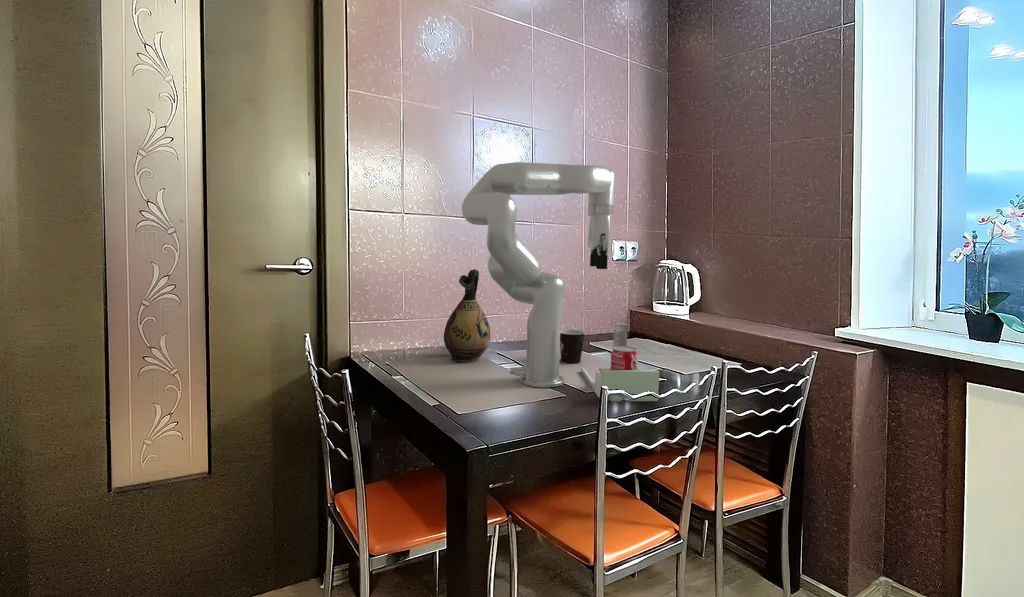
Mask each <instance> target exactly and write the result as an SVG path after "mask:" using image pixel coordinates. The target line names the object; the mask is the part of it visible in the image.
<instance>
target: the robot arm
mask: <svg viewBox="0 0 1024 597" xmlns="http://www.w3.org/2000/svg"><path fill="white" fill-rule="evenodd" d="M615 176H616V175H615V172H614V171H613V170H610V169H608V167H606V166H604V165H587V164H581V165H580V164H567V163H566V164H564V163H546V162H545V163H542V162H523V161H522V162H521V161H520V162H519V161H516V162H507V163H498V164H495V165H493V166H492V167H490V169H489V170H487V171H486V172H485V173H484V174H483V175H482V177H481V178H480V179H479V180H478V181H477V182H476V184H475V185H474V186H473V187H472V188H471V189H470V190H469V192H468V193H467V194H466V195H465V198H463V201H462V203H461V204H462V205H461V213H462V217H463V218H464V219H465V221H466V222H468V223H469V224H471V225H476V226H487V230H486V231H487V233H486V247H487V250H488V252H489V254H490V255H489V257H488V261H487V269H488V272H489V274H490V277H491V278H492V279H493V280H494V281H495V283H496V284H497V285H498V286H499V287H501V289H503V291H504V292H505V293H506V294H508V295H509V296H510V297H511V298H512V299H513V300H514V301H516V302H518V303H522V304H528V305H532V308H531V310H530V313H528V316H527V322H526V323H527V324H526V356H525V357H526V363H525V364H524V366H520V367H509V368H510V370H509V372H510V373H509V374H510V375H514V376H518V377H520V382H521V383H522V384H524V385H526V386H529V387H533V388H544V389H545V388H556V387H560V386H562V385H563V384H564V383H565V378H564V377H563V376H562V375H560V357H561V352H560V330H561V323H562V322H561V321H562V311H563V304H564V301H565V295H566V286H565V283H564V281H563V279H562V278H561V277H559V276H558V275H556V274H554V273H550V272H542V267H541V266H542V265H541V264H540V261H539V259H538V258H537V257H536V255H535V254H534V253H533V252H532V251H531V250H530V249H529V248H528V247H527V246H526V245H525V243H524V242H523V241H522V240H521V239H520V237H519V236H518V235H517V232H516V218H517V211H518V210H517V205H516V202H515V200H514V198H513V197H512V196H538V195H539V196H557V195H558V196H560V195H568V194H569V195H570V194H579V195H581V194H582V195H583V194H588V203H587V204H588V205H587V207H588V208H587V216H588V217H589V218H590V219H589V224H588V237H587V247H588V248H589V249H590V255H589V256H590V257H589V266H590V267H596V269H597V270H607V269H608V260H609V258H608V257H609V254H608V253H609V252H608V248H609V247H610V239H611V238H610V234H611V233H610V232H611V231H610V230H611V229H610V228H611V218H610V217H614V200H615V198H614V196H615Z"/></svg>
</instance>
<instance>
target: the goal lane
mask: <svg viewBox="0 0 1024 597" xmlns="http://www.w3.org/2000/svg"><path fill="white" fill-rule="evenodd" d="M580 372H581V373H582V375H583V377H584V378H585V379H586V381H587V380H588V381H587V383H588V384H589V383H590V384H589V386H590V387H591V386H592V387H591V388H592V390H593V391H594V393H595V394H596V396H597V398H599V395H600V387H601V386H607V387H608V388H609V389H612V390H615V389H618V390H624V391H626V392H627V393H630V394H640V393H643V392H648V391H649V392H654V393H656V394H658V395H659V386H660V384H659V383H660V371H659V370H650V369H649V370H640V369H638V370H602V373H601V372H600V371H599V370H595V380H594V379H593V378H592V376H591V375H590V373H589V372H588V370H587V369H586V368H585V367H581V370H580ZM621 400H622V398H621V397H619V396H613V397H612V398H611V401H610V402H622V401H621ZM658 400H659V397H658V398H655V397H653V396H645V397H641V398H638V399H636V400H630V401H629V402H658Z"/></svg>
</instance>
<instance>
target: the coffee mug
mask: <svg viewBox="0 0 1024 597" xmlns="http://www.w3.org/2000/svg"><path fill="white" fill-rule="evenodd" d="M585 334H586V332H585V331H583V330H579V329H560V362H561V363H564V364H567V365H571V364H572V365H573V364H574V365H576V364H580V363H581V359H582V354H583V347H584V342H585Z"/></svg>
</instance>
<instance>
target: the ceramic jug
mask: <svg viewBox="0 0 1024 597" xmlns="http://www.w3.org/2000/svg"><path fill="white" fill-rule="evenodd" d="M479 277H480V271H479V270H478V269H470V270H469V271H468V273H467V275H465V274H463V275H461V276H460V277H459V280H458V283H459V284H460V286H462V287H463V288H464V295H463V297H462V299H461V300H460V301H459V303H458V304H457V305H456V307H455V308H454V310H453V311H452V312H451V314H450V316H449V317H448V319H447V321H446V324H445V328H444V331H443V342H444V346H445V348H446V350H447V351H448V353H449V354H450V356H451V361H453V362H455V363H459V364H460V363H475V362H476V363H477V362H478V361H479V360H480V358H481V357H482V356H483V354H484V353H485V352H486V351H487V349H488V348H489V345H490V343H491V336H492V334H491V327H490V323H489V320H488V318H487V317H486V314H485V313H484V311H483V308H482V307H481V306H480V304H479V302H478V301H477V297H476V296H477V291H478V285H479V279H480V278H479Z"/></svg>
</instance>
